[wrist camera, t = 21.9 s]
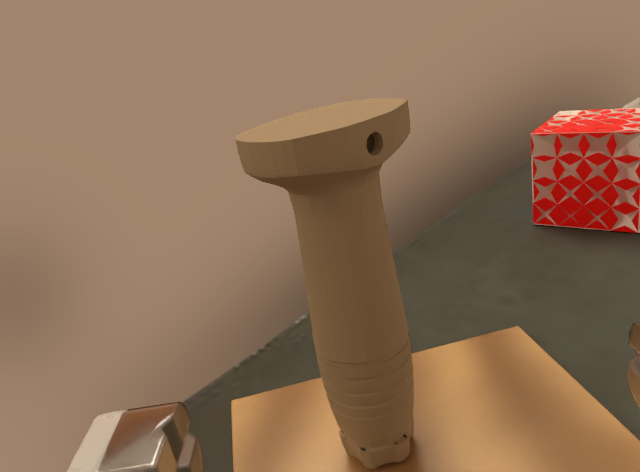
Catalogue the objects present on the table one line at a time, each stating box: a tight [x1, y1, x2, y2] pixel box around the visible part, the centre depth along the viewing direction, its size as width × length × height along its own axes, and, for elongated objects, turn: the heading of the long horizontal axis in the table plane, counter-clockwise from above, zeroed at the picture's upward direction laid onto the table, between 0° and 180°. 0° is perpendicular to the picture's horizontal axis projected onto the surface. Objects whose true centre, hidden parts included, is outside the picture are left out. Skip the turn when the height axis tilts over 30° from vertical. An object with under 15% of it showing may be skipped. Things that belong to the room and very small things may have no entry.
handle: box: [235, 98, 414, 469], centre depth 21 cm, size 5×6×15 cm
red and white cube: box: [531, 108, 640, 233], centre depth 44 cm, size 8×8×8 cm
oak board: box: [231, 326, 640, 472], centre depth 24 cm, size 17×12×1 cm
